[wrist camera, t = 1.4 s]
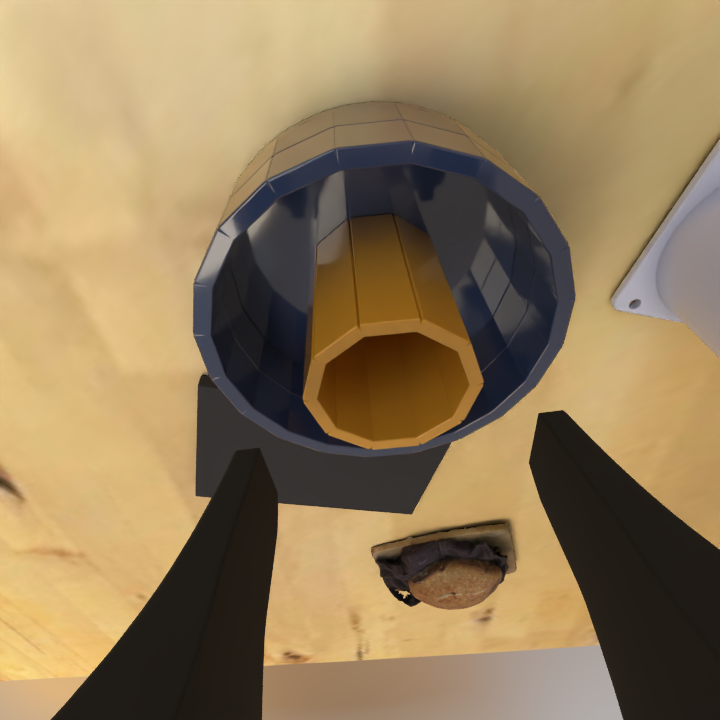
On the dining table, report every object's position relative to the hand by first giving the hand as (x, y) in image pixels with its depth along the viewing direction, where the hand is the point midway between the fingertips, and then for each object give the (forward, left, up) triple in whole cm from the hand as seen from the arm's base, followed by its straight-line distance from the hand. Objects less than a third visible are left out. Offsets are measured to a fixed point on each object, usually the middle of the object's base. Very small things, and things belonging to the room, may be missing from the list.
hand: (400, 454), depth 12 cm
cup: (0, 0, -9) cm, 9 cm away
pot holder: (0, +12, -10) cm, 16 cm away
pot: (0, 0, -10) cm, 10 cm away
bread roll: (-12, +23, -10) cm, 28 cm away
